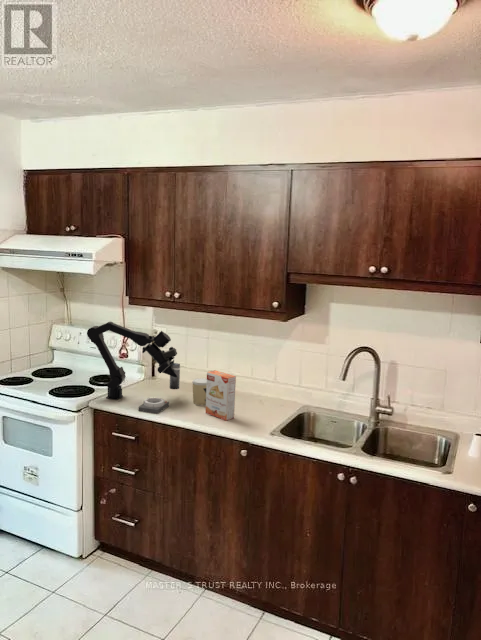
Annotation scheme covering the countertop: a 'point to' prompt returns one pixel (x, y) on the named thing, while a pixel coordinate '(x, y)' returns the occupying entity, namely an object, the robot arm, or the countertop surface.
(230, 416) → the cracker box
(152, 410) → the camera body
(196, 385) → the coffee cup
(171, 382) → the lens
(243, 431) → the countertop surface
